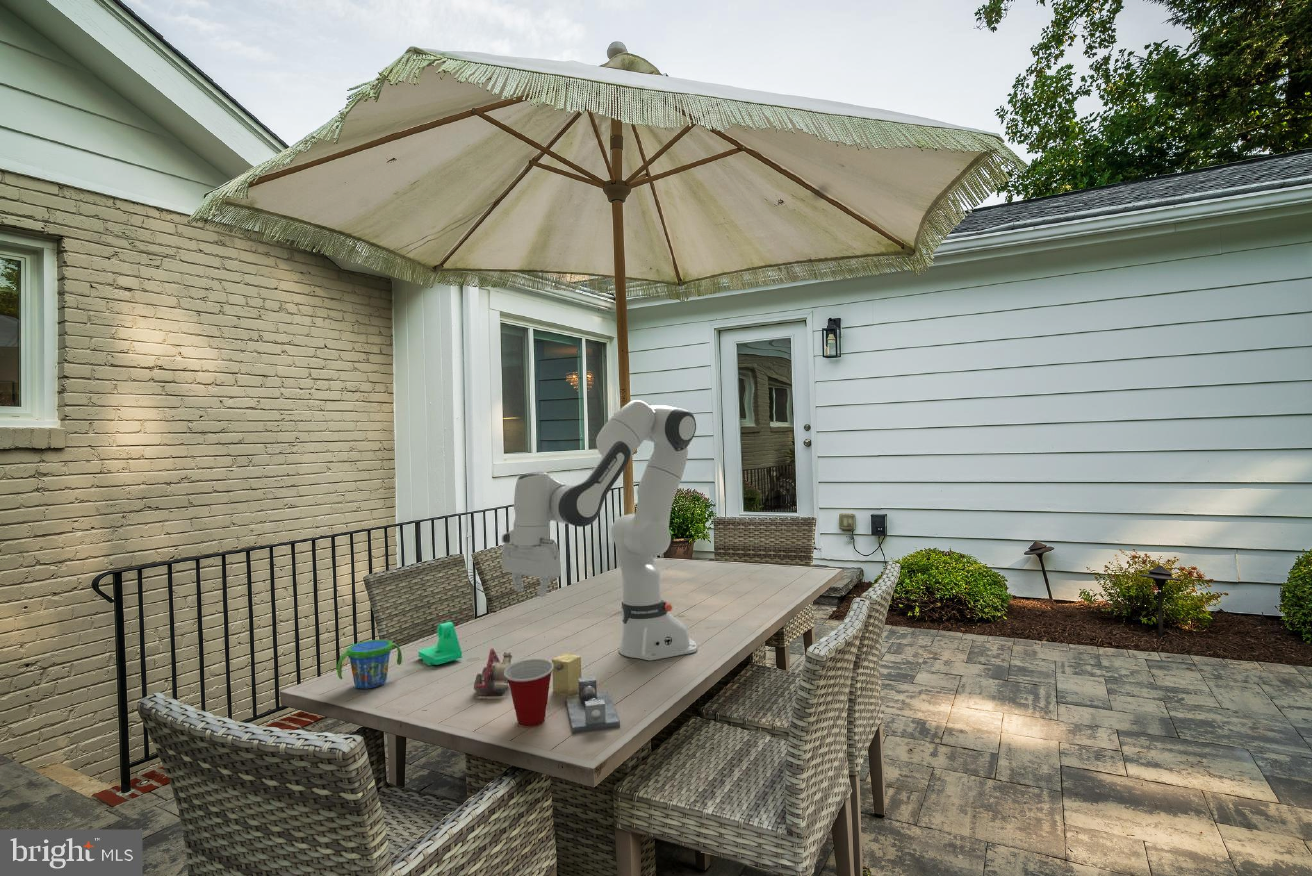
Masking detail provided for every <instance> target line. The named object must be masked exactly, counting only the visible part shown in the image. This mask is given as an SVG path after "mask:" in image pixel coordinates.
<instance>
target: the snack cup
mask: <svg viewBox="0 0 1312 876" xmlns="http://www.w3.org/2000/svg"><path fill="white" fill-rule="evenodd" d="M392 647H395V648H396V649H397V658H396V664H397V665H399V666H400V665H402V662H403V655H402V650H401V648H400V647H399V645H397V644H396V643H393V642H392V641H390V640H388V639H387V640H386V639H372V640H371V639H370V640H364V641H361V642H357V643H354V644H352V645H350V646H348V647H347V649H346V651H345V652H344V653H343V654H342V655H341V656H340V658H339V659H338V661H337V666H336V672H337V676H338V679H340V680H343V676H342V673H343V669H342V668H343V661H344V660H345V659H346V658H349V660H350V666H351V667H350V668H351V673H352V678H353V683H354V687H355V688H356V689H362V690H363V689H364V690H366V689H367V690H369V689H373V688H376V687H379V686H384V683H386V682H387V678H388V672H389V662H390V657H391V656H390V655H391V651H392Z"/></svg>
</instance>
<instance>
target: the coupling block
mask: <svg viewBox="0 0 1312 876" xmlns="http://www.w3.org/2000/svg"><path fill="white" fill-rule="evenodd" d="M551 662H552V663H553V665H554V668H553V670H552V673H551V676H552V693H554V694H555V693H556V694H559V695H564V696H572V694H575V693H577V692H579V691H578V678H583V677H582V656H581V655H577V654H572V653H566V652H564V653H562V654H561V655H558V656H556V657H554V658H551Z"/></svg>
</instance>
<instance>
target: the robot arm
mask: <svg viewBox="0 0 1312 876" xmlns="http://www.w3.org/2000/svg"><path fill="white" fill-rule="evenodd" d="M696 431H697V422H696V418H695V416H694V414H693V413H692V412H691V411H689V410H686V408H685V409H684V408H682V407H674V406H671V405H663V404H662V405H657V404H653V405H651V404H648V403H647V402H645V401H643V400H640V399H635V400H634V399H633V400H631V401H629V402H628V403H626V404H625V405H623V406H622V407H621V408H619V410H617V411H616V412H615V413H614V414H613V415H612V416H611V417H610V418H609V419H608V421H606V423H605V424H604V425H603V426H602V428H601V429H600V430H599V432H598V434H597V436H596V439H595V444H596V450H597V451H598V453H599V454H600V455H601V459H600V460H599V461H598V463H597V464H596V466H595V467H594V468H593V470H591V473H590V474H589V475H588V477H587V478H586V479H585V480H584V481H582V482H581V483H578V484H575V485H569V484H566V483H563V482H560V481H558V480H556V479H555V478H554V477H552V476H551V475H549V473H548V472H546V471H534V472H528V473H524V474H521V475H520V476H519V477H518V478H517V480H516V483H515V489H514V496H513V497H514V498H513V510H514V514H515V516H514V517H515V518H514V521H513V524H512V525H513V526H512V527H513V529H511V530H509V531H507V532H506V533H503V534H502V536H501V543H503V545H502V549H501V566H502V567H501V568H502V569H503V572H505V573H510V574H511V578H512V581H513V584H514V592H517V593H522V592H524V590H525V588H524V586H525V585H524V584H523V582H522V577H523V575H524V576H527V577H528V576H529V577H535V578H539V583H540V585H539V587H538V588H537V589H536V596H537V597H541V598H542V597H547V589H548V587H549V585H550V583H551V580H553V579H558V578H560V576H561V574H562V565H561V564H562V563H561V562H562V561H561V553H560V550H559V545H558V544H557V542H556V541H555V539H552V538H550V523H551V522H552V521H553V522H555V523H561V524H566V525H567V524H568V525H571V526H574V527H578V528H581V527H582V528H583V527H587V526H589V525H592V524H593V523H594V522H595V521H596V519H598V517H599V515H600V513H601V511H602V507H603V504H604V501H605V499H606V498H607V495H608V493H609V492H610V491H611V489H612V488H613V486H614V485H615V483H616V482H617V481H618V479H619V477H621V474H622V473H623V472H624V470H625V469H626V467H627V465H628V463H629V461H630V459H631V458H632V456H633V455H634V453H635V452H636V451H637V449H639V447H640V446H641V445H642V443H643V442H644V441H648V442H652V443H653V451H652V453H651V455H650V457H649V459H648V461H647V464H646V466H645V469H644V471H643V474H642V475H641V476H642V477H641V479H640V481H639V484H638V487H637V488H636V489H637V490H636V494H637V502H636V503H637V504H636V508H635V509H636V510H635V512H634V513H628V514H625V515H622V516H620V517H618V518H616V520H614V522H613V523H612V526H611V529H610V535H611V539H612V540H613V542H614V545H615V549H616V553H617V558H618V563H619V568H620V572H621V583H622V584H621V585H622V601H621V609H620V610H621V621H622V632H621V641H620V644H619V645H620V646H619V648H618V649H619V650H618V652H619V654H621V655H622V656H624V657H627V658H628V657H629V658H635V659H641V660H645V661H655V660H661V659H666V658H671V657H676V656H681V655H687V654H692V653H696V652H697V650H698V645H697V643H696V641H695V640H694V639H692V638H690V637H689V633H688V629H687V627H686V625H685V624H684V622H682V621H681V620H679V619H678V618H676V617H675V616H674V615H672V614H671V613H669V612H671V611H672V610H673V605H672V604H671V603H670V602H668V601H665V600H664V599H662V595H661V594H662V591H661V589H662V588H661V573H660V571H659V569H658V566H657V564H656V562H655V557H657V556H658V557H659V556H661V555H663V554H664V553H665V552H667V550H668V549H669V548H670V545H671V541H672V536H671V531H670V519H671V512H672V506H673V504H674V503H673V502H674V499H675V497H676V496H677V495H676V494H677V491H678V489H679V486H680V483H681V482H682V481H681V480H682V478H683V474H684V472H685V469H686V465H687V460H688V453H689V450H688V446H689V445H690V444H691V442H692V441H693V439H694V437H695V435H696Z"/></svg>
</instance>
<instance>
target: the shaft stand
mask: <svg viewBox="0 0 1312 876" xmlns="http://www.w3.org/2000/svg"><path fill="white" fill-rule="evenodd" d="M597 691H598V690H597V678H596V676H588V677H582V678H578V691H577V692H578V694H576V695H569V696H568V695H565V703H566V708H567V709H566V710H567V713H568V718H569V722H570V726H571V731H572V734H579V733H585V732H592V731H599V730H605V729H609V730H610V729H615V728H620V727H621V721H620V718H619V715H618V713H617V711H616V708H615V706H614V703H613V701H612V698H611V696H610V694H609V691H608V690H607V691H599V692H597Z"/></svg>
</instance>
